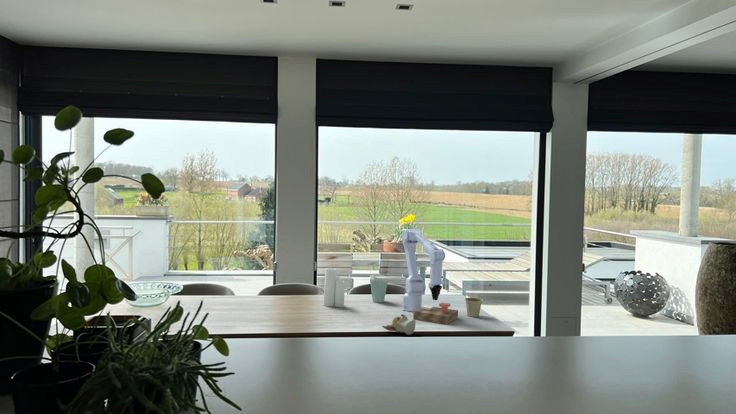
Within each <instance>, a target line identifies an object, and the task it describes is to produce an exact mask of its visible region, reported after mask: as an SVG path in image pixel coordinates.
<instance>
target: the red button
mask: <svg viewBox="0 0 736 414" xmlns="http://www.w3.org/2000/svg"><path fill="white" fill-rule="evenodd" d="M438 307H439V308H442V310H441V312H443V313H447V312H448V309H449V307H451V303H448V302H441V303H439V304H438Z"/></svg>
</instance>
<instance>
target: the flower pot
mask: <svg viewBox="0 0 736 414" xmlns="http://www.w3.org/2000/svg"><path fill="white" fill-rule="evenodd" d="M464 301H465V304H466V305H465V306H466V315H467V316H468V317H472V318H477V317H480V311H481V308H482V307H481V306H482V304H483V301H484V300H483V299H481V298H479V297H477V298H476V297H466V298H464Z"/></svg>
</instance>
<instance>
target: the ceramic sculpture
mask: <svg viewBox="0 0 736 414" xmlns="http://www.w3.org/2000/svg"><path fill="white" fill-rule="evenodd" d="M416 322H417V321H416V319H408V317H407V315H406V314H404V313H403V314H401V315H400V316H395V317H394V318H393V319H392V323H391V324H387V325H382V328H384V329H385V330H387V331H389V332H395V333H396V332H397V333H399V332H400V333H399V334H403V333H405V334H406V335H408V336H409V335H410V336H411V335H413V334H414V332H415V330H416Z"/></svg>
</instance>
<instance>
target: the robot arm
mask: <svg viewBox="0 0 736 414" xmlns="http://www.w3.org/2000/svg"><path fill="white" fill-rule="evenodd" d="M401 242H402V245H403V249H404V254H405V261H406V265H407V272H408V277H407V279H405V287H404V289H405V293H404V295H403V302H402V311H405V312H413V313H414V311H415V310H417V309H419V308H421V307H422V304H423V303H422V300H423V295H424V293H425V292H426V289H427V287H426V284H425V282H424V278H423V277H421V275H420V273H419V269H418V264H417V256H416V253H415V251H416V250H415V246H417V245H418V244H420V245H421V246H422V249H423V250H424V252H425V253H426V254H427V256H428V259H429V264H430V277H429V279H430V280H429V283H428V288H429V291H430V292H431V298H432V300H434V301H438V299H439V296H440V293H441V290H442V289H443V285H444V284H445V283H444V282H443V279H442V277H443V261H444V260H445V259H446V253H445V251H444V249H442V248H438V247H437V246H436V245H435V244H434V243H433V241H430V240H427V238H426V237H425V235H424V234H423V231H422V229H420V228H404V229H403V230H402V233H401Z"/></svg>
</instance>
